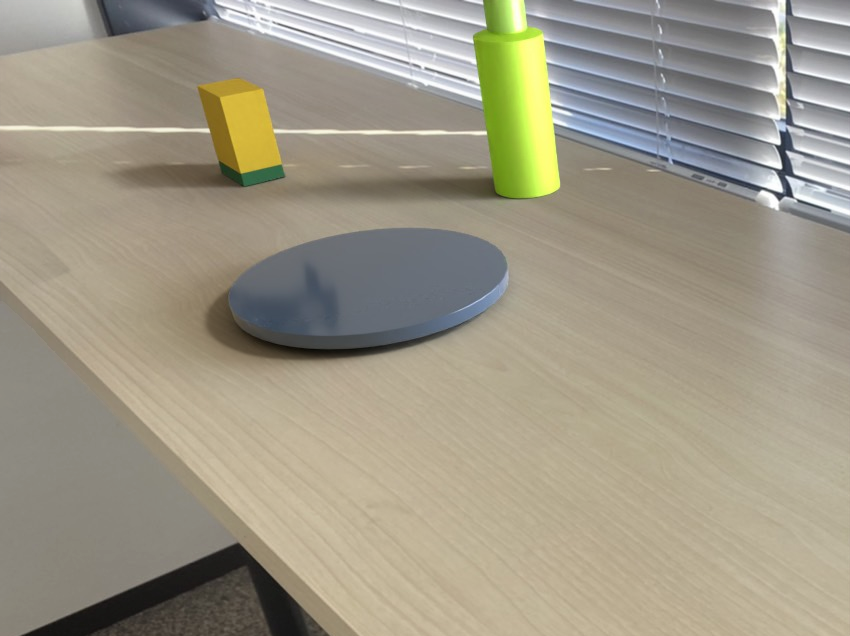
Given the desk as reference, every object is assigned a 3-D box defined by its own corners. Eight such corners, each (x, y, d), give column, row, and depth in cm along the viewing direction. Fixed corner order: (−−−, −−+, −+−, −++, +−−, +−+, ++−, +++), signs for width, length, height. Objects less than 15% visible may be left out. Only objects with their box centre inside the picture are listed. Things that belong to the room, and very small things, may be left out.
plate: (365, 383, 75) (360, 361, 74) (175, 317, 84) (168, 296, 83) (565, 277, 89) (562, 257, 88) (382, 230, 98) (378, 211, 97)
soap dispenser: (507, 206, 102) (471, -48, 90) (488, 183, 107) (452, -60, 95) (571, 195, 103) (544, -54, 92) (549, 173, 109) (521, -66, 97)
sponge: (244, 186, 107) (219, 97, 103) (221, 172, 111) (196, 85, 106) (285, 177, 109) (263, 88, 105) (262, 163, 113) (239, 77, 108)
